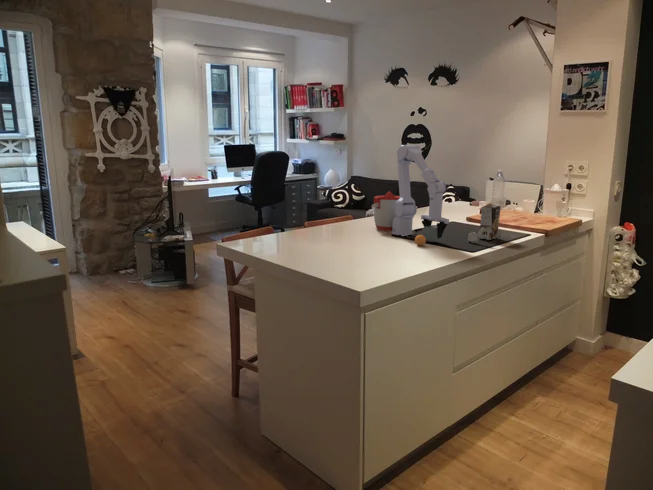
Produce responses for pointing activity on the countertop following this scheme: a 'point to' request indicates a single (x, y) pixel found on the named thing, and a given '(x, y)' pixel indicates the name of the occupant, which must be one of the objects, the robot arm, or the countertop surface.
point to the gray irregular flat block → (475, 235)
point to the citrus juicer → (385, 211)
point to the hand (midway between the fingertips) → (433, 236)
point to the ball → (420, 240)
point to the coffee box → (490, 221)
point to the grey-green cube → (432, 233)
